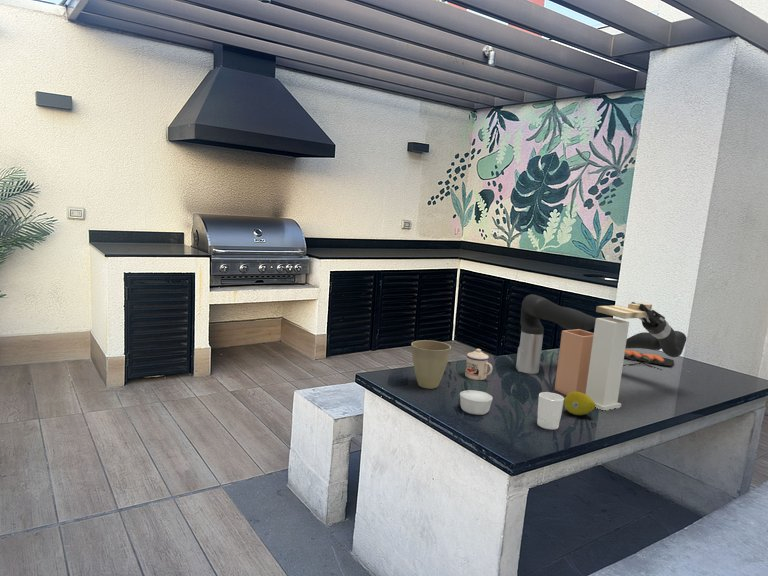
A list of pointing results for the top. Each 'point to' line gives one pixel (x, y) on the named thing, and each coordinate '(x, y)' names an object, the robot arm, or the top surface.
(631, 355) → the sushi plate
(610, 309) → the tan t-shaped block
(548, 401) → the white cup
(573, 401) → the lemon
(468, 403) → the ramekin
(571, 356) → the tall open box
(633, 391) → the top surface
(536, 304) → the robot arm
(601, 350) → the pedestal
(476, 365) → the teacup with lid
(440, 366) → the plant pot
